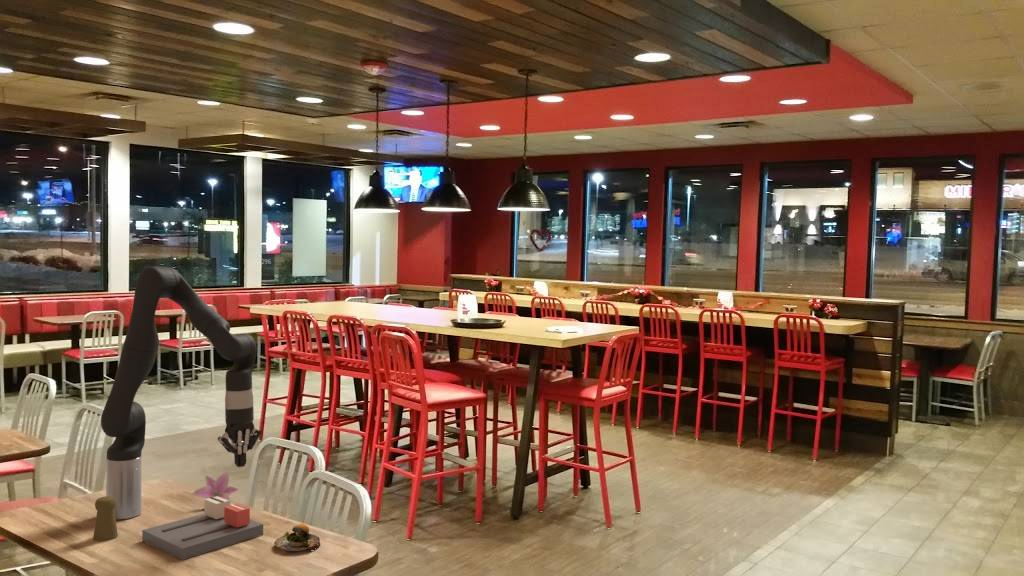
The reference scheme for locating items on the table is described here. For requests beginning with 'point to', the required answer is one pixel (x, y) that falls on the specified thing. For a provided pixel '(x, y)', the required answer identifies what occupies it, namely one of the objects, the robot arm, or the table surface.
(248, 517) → the block
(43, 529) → the table surface
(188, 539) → the console
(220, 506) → the block
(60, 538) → the table surface
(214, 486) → the lily
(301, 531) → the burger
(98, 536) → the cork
